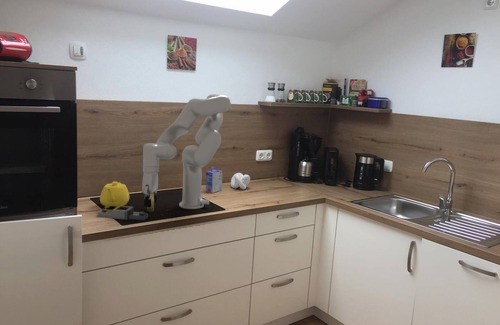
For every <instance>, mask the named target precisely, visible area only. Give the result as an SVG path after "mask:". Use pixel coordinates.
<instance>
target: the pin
mask: <svg viewBox="0 0 500 325" xmlns="http://www.w3.org/2000/svg"><path fill="white" fill-rule="evenodd" d="M149 193H150V192H149ZM147 195H149V194H147ZM154 206H155V203H154V192H153V193H152V194H151V207H146V208H147V213H149V212H150V213H152V212H153V213H154V211H155V207H154Z"/></svg>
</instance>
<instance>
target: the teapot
mask: <svg viewBox="0 0 500 325" xmlns="http://www.w3.org/2000/svg"><path fill="white" fill-rule="evenodd" d="M99 201H100V204H101V205H102V206H104V207H103V209H110V208H111V207H117V206H126V205H127V204H128V202H129V201H130V193H129V190H128V188H127V186H126V184H124V183H122V182H118V181H112V182H111V183H106V184H105V185H104V187H103V188H102V190H101V193H100V197H99Z"/></svg>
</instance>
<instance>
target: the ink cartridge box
mask: <svg viewBox="0 0 500 325" xmlns="http://www.w3.org/2000/svg"><path fill="white" fill-rule="evenodd" d="M222 190H223V170H222V169H221V170H220V169H216V167H215V166H211V167H210V170H209V171H205V192H206V193H210V194H213V193H217V192H220V191H222Z"/></svg>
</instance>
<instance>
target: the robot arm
mask: <svg viewBox="0 0 500 325" xmlns="http://www.w3.org/2000/svg"><path fill="white" fill-rule="evenodd" d="M231 104H232V103H231V99H230V98H229V97H228V95H224V94H217V93H215V94H209V95H208V96H207V97H206V98H191V99H189V100H188V102H187V103H186V104H185V106H184V108H182V111H181V112H180V113H179V115H178V117H177V118H176V119H175V121H174V122H173V123H171V124H170V125H169V126H168V127H167V128H166V129H165V130H164V131H163V132H162V133H161V135H160V136H159V137H158V139H157V140H156V142H155V143H154V142H153V143H152V142H148V143H144V144H143V146H142V147H143V148H142V150H143V152H142V172H143V176H142V185H141V186H142V187H141V192H142V194H143V197H144V198H143V199H144V202H143V203H144V205H143V206H144V207H145V208H147V207H151V194H152V193H153V192H154V204H156V203H158V202H157V201H158V200H157V198H158V197H157V195H158V191H157V190H158V188H159V172H160V159H163V160H171V159H173V158H175V157H176V156H177V153H178V150H177V147H176V146H175V145H173V143H174V142H175V141H176V140H177V139H178V138H179V137H181V136H184V135H185V134H188V133H189V132H190V131H191V129H192V128H193V126H194V125H195V123H196V122H197V120H198V119H199V117H200V118H204V117H206V118H205V119H204V122H203V123H202V124H201V126H200V128H199V129H198V130H197V132H196V134H195V139H194V140H195V142H196V143H197V144H198V145H199V146H198V145H195V144H194V145H193V144H192V145H191V144H190V145H187V146H185V148H184V149H183V150H182V152H181V159H182V171H183V172H182V196H181V197H182V200H181V201H180V202H179V206H178V207H180V208H182V209H187V210H197V209H198V210H199V209H202V208H204V205H210V201H209V199H204V198H203V196H202V178H203V171H202V170H203V169H202V168H204V167H206V166H208V165H209V163H210V162H211V161H212V159H213V157H214V156H215V154H216V153H217V151H218V149H219V148H220V147H221V143H222V135H221V133H220V132H219V130H220V128H221V126H222V124H223V121H224V115H223V113H226V112H228V110H229V109H230V108H231ZM149 192H150V193H149ZM148 194H149V195H148Z"/></svg>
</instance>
